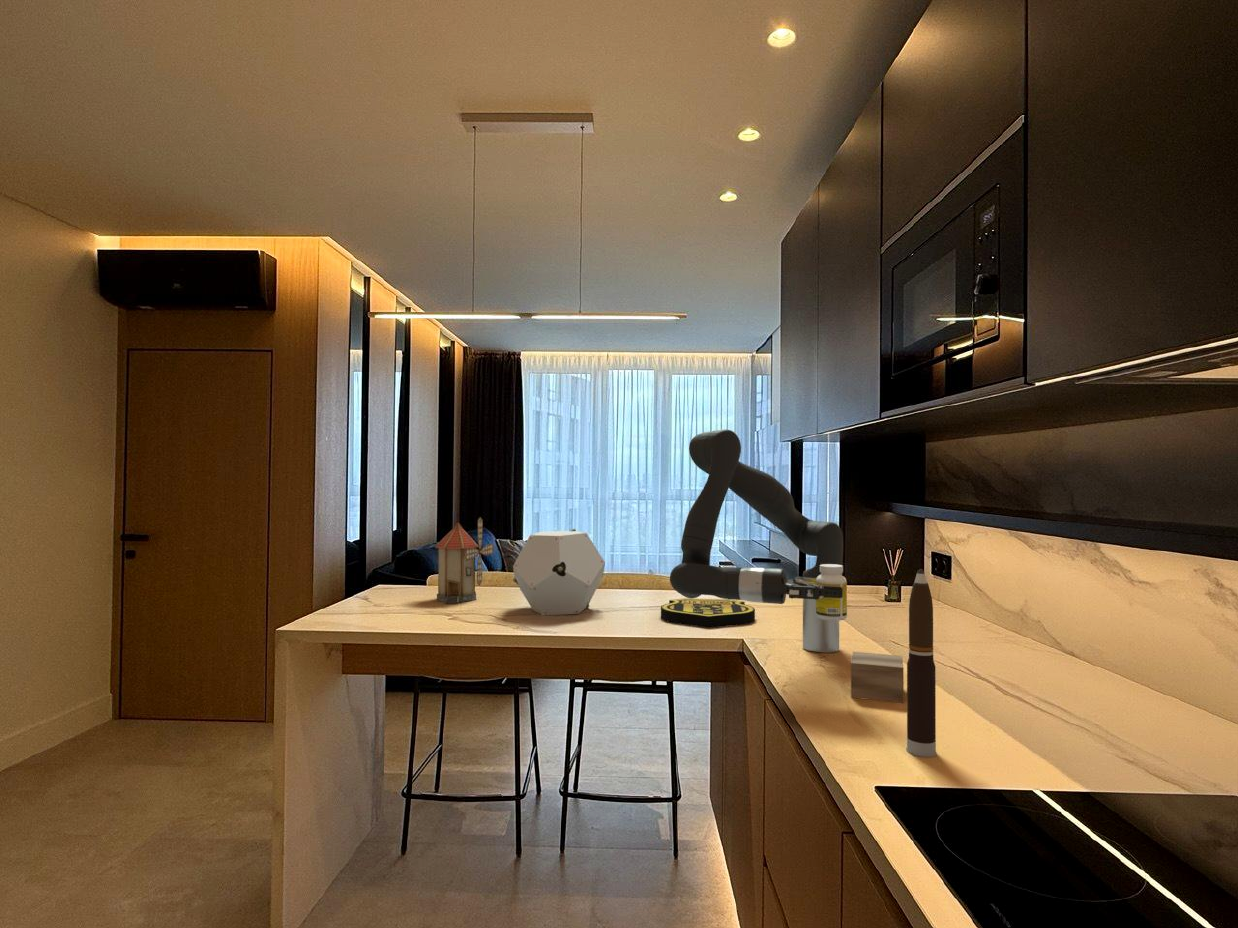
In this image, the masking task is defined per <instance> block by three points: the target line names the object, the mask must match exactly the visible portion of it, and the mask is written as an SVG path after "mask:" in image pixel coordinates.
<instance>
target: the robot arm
mask: <svg viewBox="0 0 1238 928" xmlns="http://www.w3.org/2000/svg"><path fill="white" fill-rule="evenodd" d="M741 444H742V443H741V440H740V438H739V436H738V435H737V434H736V433H735V431H733V430H731V429H727V428H726V429H725V428H724V429H723V428H722V429H717V430H711V431H704V432H702V433H699V434H696V435H695V436H694V437H692V439H691V440H690V441H689V445H688V453H689V455H690V458H691V460H692V462H693V464H694V465H696V467H697V468H699V469H700V470H701V471H703V472H704V473H706V474H708V476H707V480H706V482H705V484H704V485H703V488H702V490H701V491H700V492H699V493H700V494H699V495H698V497H697V498H696V500H695V501H694V503H693V504H692V506H691V508H690V509H689V512H688V514H687V516H686V519H685V520H686V521H685V524H684V528H683V532H682V533H683V534H682V538H681V542H680V544H681V545H680V548H681V552H682V558H681V563H679V564H677V565H676V566H674V567H673V569H672V570H671V572H670V575H669V582H670V585H671V587H672V589H673V590H674V591H675V592H677V593H679V594H680V595H681V596H682V597H685V598H687V599H698V597H700V596H703V595H704V596H713V597H717V598H718V599H730V600H736V601H743V602H750V603H760V604H774V605H775V604H776V605H783V604H785V602H786V600H787V599H786V598H787V595H788V598H789V599H802V648H803V650H806V651H810V652H814V653H835V652H836V653H837V652H838V651H840V621H829V620H823V619H820V618H818V617H817V615H816V600H817V599H819V598H823V596H824V597H829V598H842V596H843V588H842V587H834V586H824V588H823V586H822V585H816V578H817V577H818V576H819V575H821V572H820V565H822V564H837V565H842V566H843V559H844V557H843V556H844V535H843V532H842V529H841V527H840V526H839V525H838V524H837V523H835V522H833V521H832V522H831V521H823V520H822V521H819V520H813V519H809V518H808V517H806V516H805V515H803V514H802V513H801V512H800V511H798V510H797V509H796V507H795V502H794V498H793V495H792V494H791V492H790V490H789V489H788V488H787V487H786V486H785V485H783V484H782V483H781V482H780V481H779V480H778V479H777V478H775V477H774V476H772V475H770V474H769V473H767V472H765V471H762V470H760V469H757V468H756V467H752V466H750V465H748V464H745V463H743V462H741V461H740V457H741V454H742V445H741ZM728 490H730V491H732V492H733V493H734V494H735V495H737V496H738V497H739V498H740V499H741V500H742V501H744V502H745V503H746V504H747V505H748V506H750V507H751V508H752V509H753V510H755V511H756V512H757V513H758V514H759V515H761V516H762V517H763V518H764V519H766V520H767V521H769V523H771V524H772V525H773V526H775V528H777V529H778V530H780V531H781V533H783V534H784V535H785V537H787V539H789V540H790V542H791V543H793V545H794V546H795V547H796V549H798V550H799V551H800V552H802V553H803V554H805V555H808V556H811V557H816V560H815V561H816V562H815V565H814V566H813V567H811V568H809V569H805V570H804V571H803V573H802V576H794V578H792V579H791V578H790V579H788V578H787V572H786V570H785V569H784V568H777V567H775V568H774V567H760V566H759V567H757V566H749V567H736V566H735V567H733V566H715V565H714V566H713V565H710V564H711V551H712V548H713V544H714V540H715V539H714V538H715V533H716V529H717V524H718V520H719V517H720V512H721V510H722V508H723V507H722V506H723V504H724V501H725V498H726V496H727V493H728V492H729V491H728Z"/></svg>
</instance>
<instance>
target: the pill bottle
mask: <svg viewBox="0 0 1238 928" xmlns="http://www.w3.org/2000/svg"><path fill="white" fill-rule="evenodd" d="M820 572H821V575H819V576H818V577H817V578H816V585H822V586H823V588H824V586H834V587H842V588H843V596H842V598H829V597H824V596H823V598H819V599H817V600H816V615H817V617H818V618H820V619H823V620H829V621H839V622H840V621H845V620H846V619H847V616H848V602H847V601H848V597H847V596H848V592H847V591H848V590H847V587H848V586H847V585H848V583H847V578H846V577H845V576H843V573H844V565H843V564H842V565H837V564H822V565H820Z"/></svg>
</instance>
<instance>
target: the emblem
mask: <svg viewBox="0 0 1238 928" xmlns="http://www.w3.org/2000/svg"><path fill="white" fill-rule="evenodd" d="M668 602H669V603H665V604H662V605H661V606H660V619H661V620H662V621H664V622H667V623H673V624H679V625H686V626H691V627H692V626H693V627H699V628H706V629H711V628H723V627H731V626H734V627H735V626H742V625H748V624H752V623H755V621H756V609H755V607H752V606H750V605H747V604H746V603H745V602H746V601H744V600H733V599H723V598H687V597H685V598H676V599H670V600H669V601H668Z"/></svg>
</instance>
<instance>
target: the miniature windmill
mask: <svg viewBox="0 0 1238 928" xmlns="http://www.w3.org/2000/svg"><path fill="white" fill-rule="evenodd" d="M483 527H484V523H483V519H482V517H481V516H479V518H478V519H477V542H475V540H474V539H473V538H472V537H471V536H470V534H468V532H466V530H465V529H464V528H463V526H462V525H461V524H460V522H457V523H455V525H454V527H453V528H452V529H451V530H450V531H449V532H448V533H446V535H445V536H444V537H443V538H442V539H441V540H440V541H438V543H437V544H436V545H435V546H434V547H435V548H437V549H438V563H437V565H438V567H437V568H438V574H437V577H438V579H437V580H438V583H437V584H438V585H437V587H438V588H437V590H438V593H437V594H436V600H437V601H438V602H442V603H445V605H447V604H448V605H449V604H451V605H458V604H459V603H463V602H469V601H475V600H477V592H476V584H477V585H478V586H479V587H481V584H482V582H483V562H482V555H483V556H490V555H493V554H494V550H495V547H494V543H492V542H491V543H488V544H486V545H484V546H483V547H482V545H483V544H482V543H483V534H484V532H483V531H484V530H483V529H484V528H483ZM476 557H478V558H477V566H476ZM476 568H477V569H476Z"/></svg>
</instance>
